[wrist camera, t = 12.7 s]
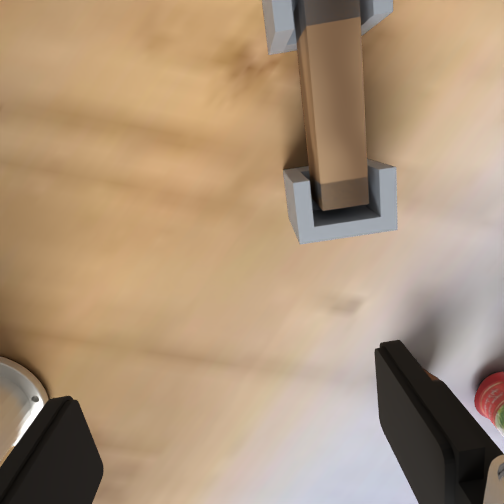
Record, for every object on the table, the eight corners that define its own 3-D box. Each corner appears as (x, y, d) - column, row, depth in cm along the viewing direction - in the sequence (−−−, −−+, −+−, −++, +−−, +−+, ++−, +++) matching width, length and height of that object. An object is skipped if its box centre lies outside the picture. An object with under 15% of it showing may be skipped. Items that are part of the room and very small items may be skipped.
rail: (311, 197, 31) (322, 210, 27) (293, 12, 27) (303, -12, 22) (350, 191, 31) (369, 204, 26) (339, 4, 27) (358, -22, 22)
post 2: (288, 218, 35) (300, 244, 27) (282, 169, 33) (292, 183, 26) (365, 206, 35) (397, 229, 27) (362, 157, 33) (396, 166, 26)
